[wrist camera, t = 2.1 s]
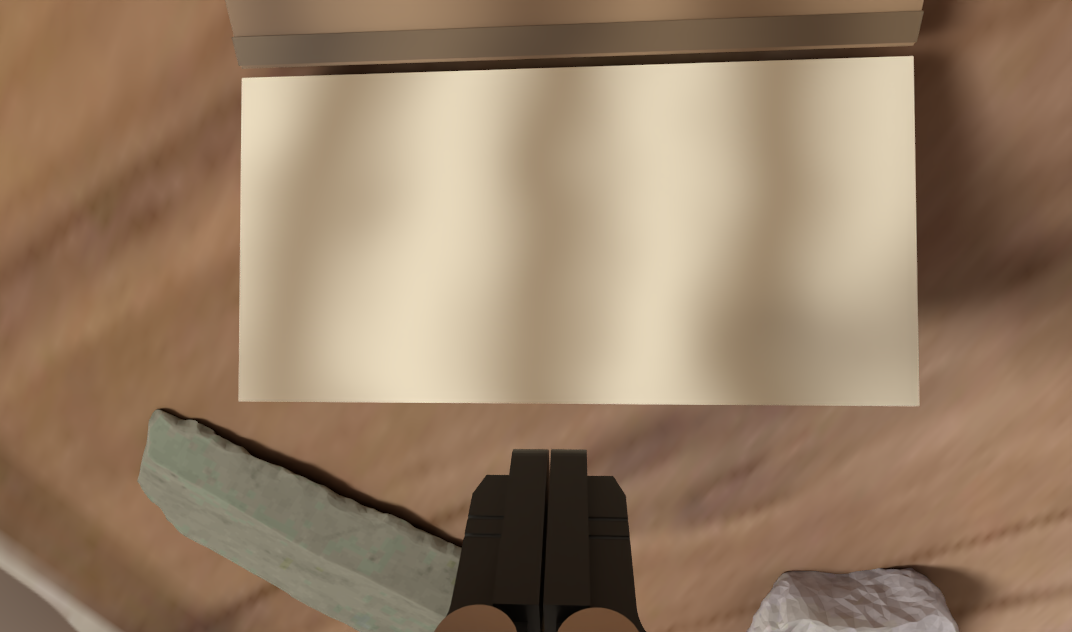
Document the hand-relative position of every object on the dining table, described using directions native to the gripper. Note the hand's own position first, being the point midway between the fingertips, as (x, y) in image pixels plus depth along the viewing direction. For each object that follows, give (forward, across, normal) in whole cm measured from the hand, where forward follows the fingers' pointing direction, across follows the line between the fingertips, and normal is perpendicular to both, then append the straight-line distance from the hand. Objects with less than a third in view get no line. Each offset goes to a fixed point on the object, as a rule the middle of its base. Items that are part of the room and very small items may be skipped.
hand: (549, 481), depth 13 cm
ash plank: (+9, 0, -1) cm, 10 cm away
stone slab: (+13, +12, +17) cm, 25 cm away
